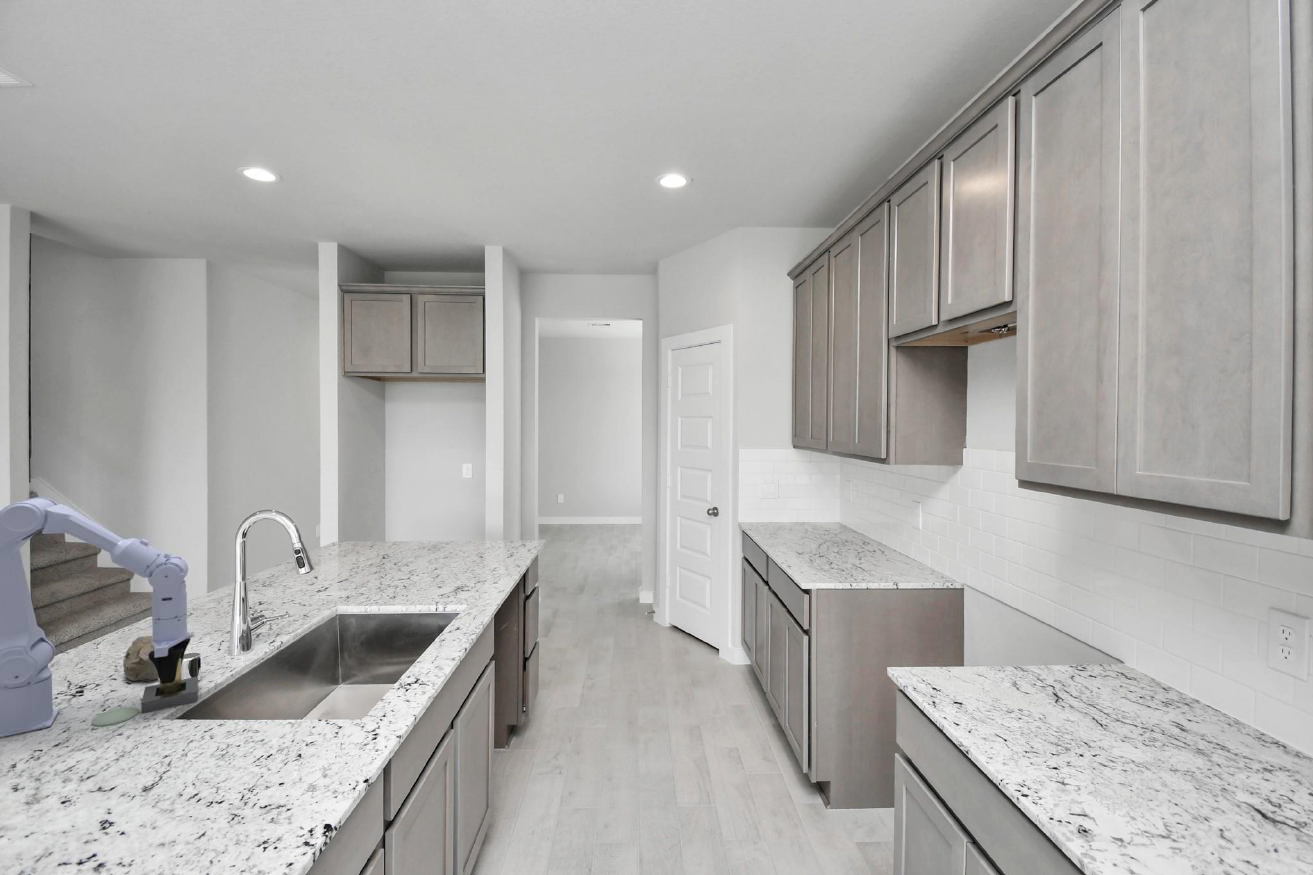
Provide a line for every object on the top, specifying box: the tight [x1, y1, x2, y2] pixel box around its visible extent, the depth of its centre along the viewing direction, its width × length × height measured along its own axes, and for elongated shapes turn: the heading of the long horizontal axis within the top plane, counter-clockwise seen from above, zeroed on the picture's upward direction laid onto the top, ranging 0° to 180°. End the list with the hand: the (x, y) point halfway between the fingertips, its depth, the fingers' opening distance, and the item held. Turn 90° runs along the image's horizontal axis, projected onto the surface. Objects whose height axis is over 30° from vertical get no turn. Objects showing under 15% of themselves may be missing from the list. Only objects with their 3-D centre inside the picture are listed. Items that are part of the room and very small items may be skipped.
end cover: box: [159, 658, 182, 695], centre depth 127 cm, size 4×4×7 cm
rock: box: [122, 635, 159, 682], centre depth 139 cm, size 12×7×10 cm, turn 39°
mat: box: [91, 706, 140, 727], centre depth 119 cm, size 7×7×1 cm
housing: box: [140, 676, 199, 715], centre depth 127 cm, size 9×9×2 cm
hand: (170, 678), depth 127 cm, fingers closed on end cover, 4 cm apart
